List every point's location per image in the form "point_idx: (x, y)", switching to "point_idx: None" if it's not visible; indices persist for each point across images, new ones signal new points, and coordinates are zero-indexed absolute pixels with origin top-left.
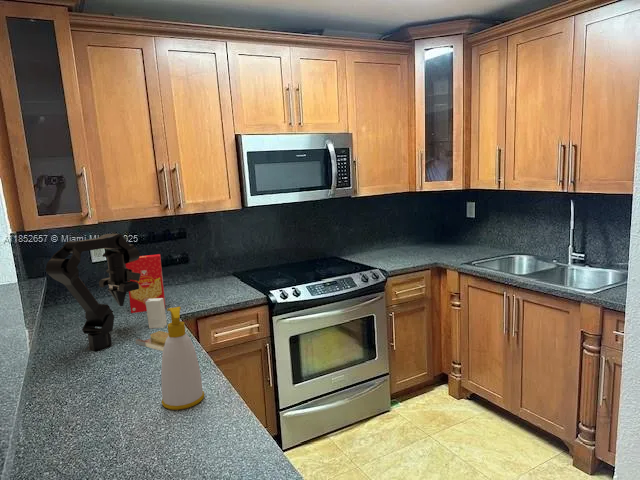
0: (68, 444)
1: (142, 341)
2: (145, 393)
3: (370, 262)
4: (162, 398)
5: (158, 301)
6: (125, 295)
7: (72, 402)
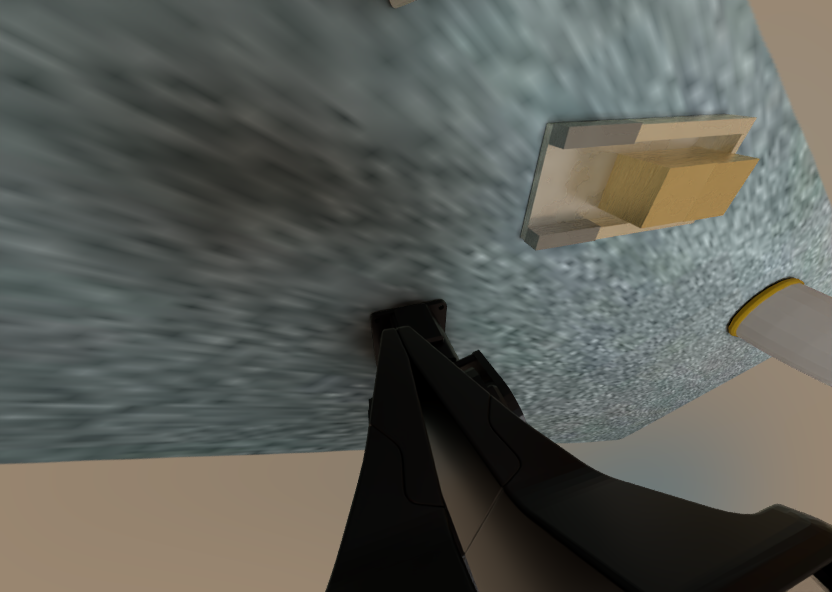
0: (640, 414)
1: (577, 240)
2: (689, 335)
3: None
4: (731, 330)
5: None
6: (525, 422)
7: (582, 408)
